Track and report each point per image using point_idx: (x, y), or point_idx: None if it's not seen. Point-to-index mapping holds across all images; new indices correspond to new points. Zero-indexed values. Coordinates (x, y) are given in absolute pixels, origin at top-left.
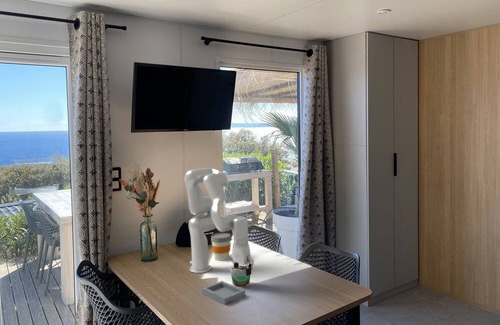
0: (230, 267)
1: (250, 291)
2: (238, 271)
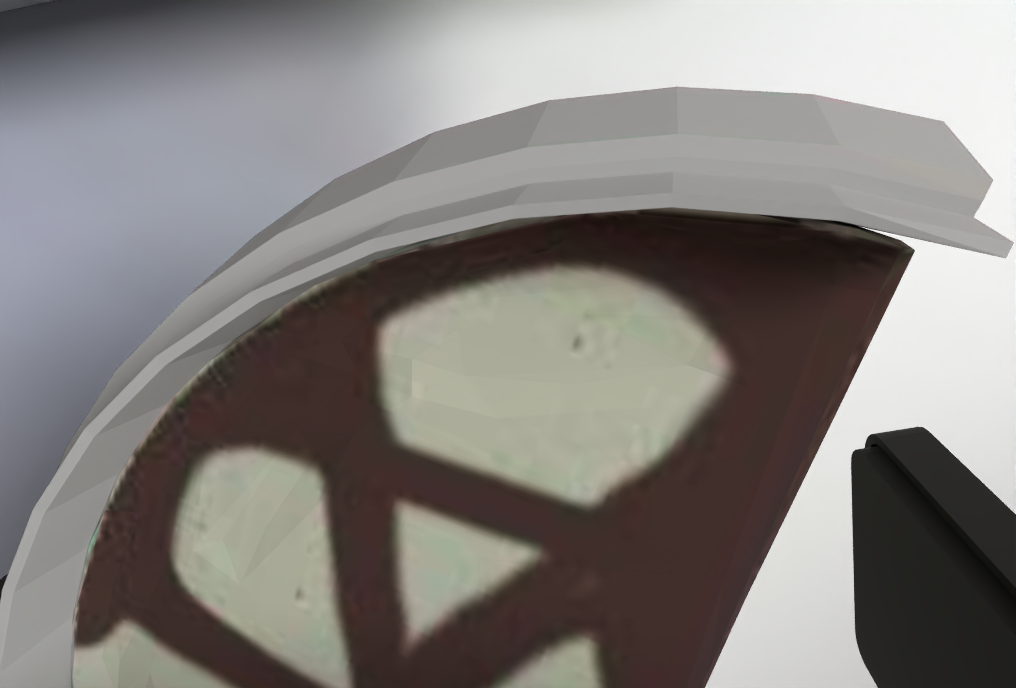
0: (976, 220)
1: (69, 331)
2: (126, 403)
